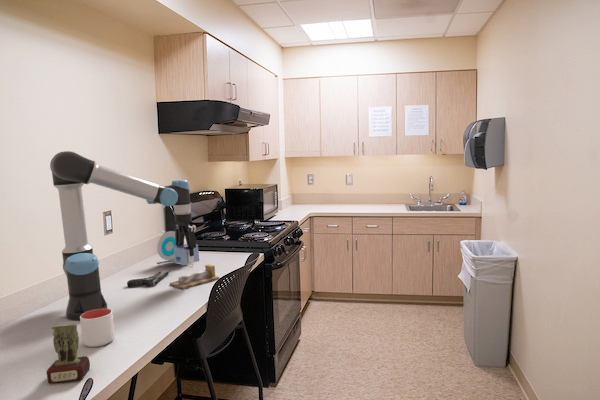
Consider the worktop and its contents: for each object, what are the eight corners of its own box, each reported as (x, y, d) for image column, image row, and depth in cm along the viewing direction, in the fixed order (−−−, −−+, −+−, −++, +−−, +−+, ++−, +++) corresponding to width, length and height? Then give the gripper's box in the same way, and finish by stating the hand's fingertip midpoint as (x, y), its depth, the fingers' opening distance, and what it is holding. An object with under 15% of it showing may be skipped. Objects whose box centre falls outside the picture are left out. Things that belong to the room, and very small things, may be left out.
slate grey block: (182, 265, 216) (181, 248, 215) (175, 263, 220) (173, 246, 219) (199, 261, 222) (197, 244, 221) (191, 259, 226) (190, 242, 225)
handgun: (143, 270, 241) (169, 269, 240) (144, 277, 241) (170, 275, 240) (126, 281, 221) (154, 280, 220) (127, 288, 221) (155, 287, 220)
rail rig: (183, 289, 213) (182, 276, 213) (169, 285, 222) (168, 272, 221) (219, 279, 227) (218, 266, 227) (205, 275, 236) (204, 263, 235)
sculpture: (46, 386, 130) (39, 334, 128) (56, 372, 138) (50, 323, 136) (83, 381, 131) (77, 330, 130) (91, 368, 139) (86, 319, 137)
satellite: (207, 229, 269) (172, 232, 278) (187, 222, 251) (149, 225, 261) (204, 269, 263) (168, 270, 272) (182, 264, 245) (144, 265, 254)
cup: (78, 343, 158) (75, 314, 157) (107, 333, 165) (105, 306, 164) (89, 351, 151) (86, 321, 150) (120, 341, 158) (117, 312, 157)
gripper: (201, 213, 214) (205, 262, 217) (178, 210, 228) (183, 257, 230) (187, 215, 209) (191, 266, 211) (164, 213, 222) (169, 260, 225)
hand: (187, 261), depth 221 cm, fingers closed on slate grey block, 6 cm apart
